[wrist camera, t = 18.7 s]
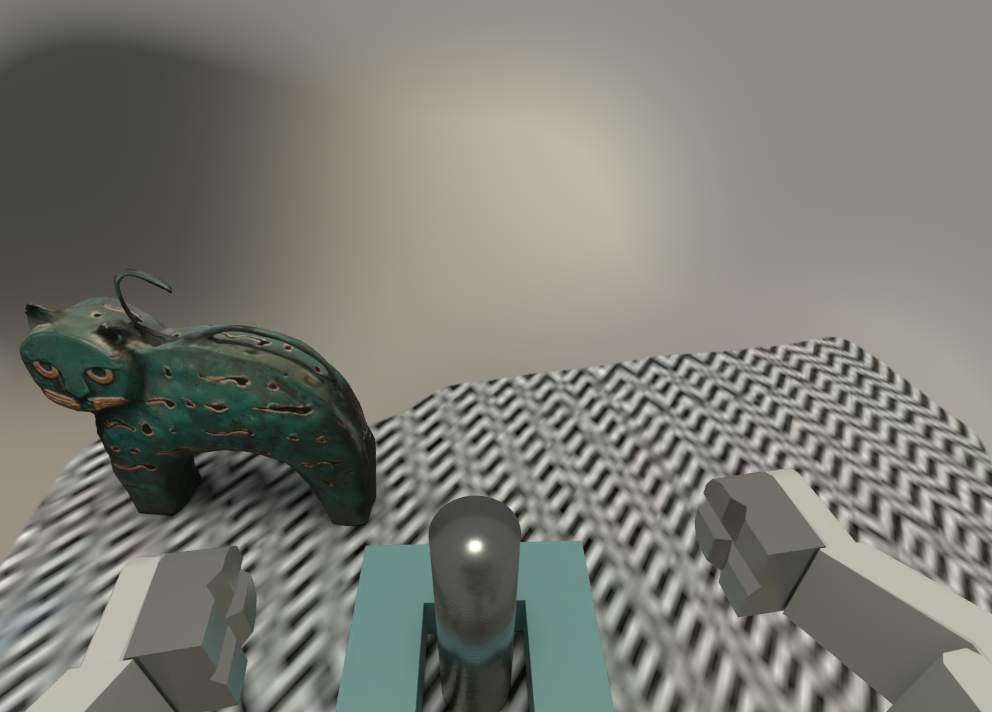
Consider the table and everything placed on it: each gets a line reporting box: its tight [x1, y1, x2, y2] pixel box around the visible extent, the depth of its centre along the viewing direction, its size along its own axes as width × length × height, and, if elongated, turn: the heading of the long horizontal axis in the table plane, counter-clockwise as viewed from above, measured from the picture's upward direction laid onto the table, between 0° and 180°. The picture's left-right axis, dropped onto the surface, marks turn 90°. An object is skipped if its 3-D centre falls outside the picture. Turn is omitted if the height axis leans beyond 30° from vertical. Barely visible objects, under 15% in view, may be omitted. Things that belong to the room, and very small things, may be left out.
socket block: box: [335, 541, 614, 712], centre depth 31 cm, size 14×14×4 cm
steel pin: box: [429, 496, 521, 712], centre depth 28 cm, size 4×4×14 cm
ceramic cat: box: [20, 268, 376, 526], centre depth 37 cm, size 20×6×20 cm, turn 85°
